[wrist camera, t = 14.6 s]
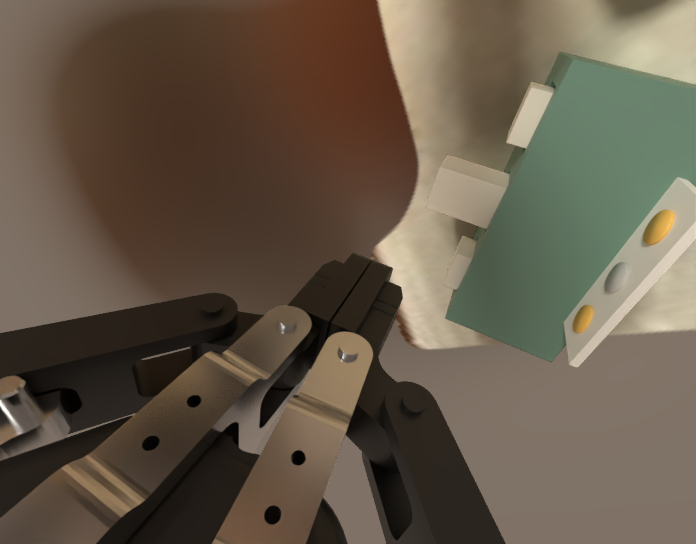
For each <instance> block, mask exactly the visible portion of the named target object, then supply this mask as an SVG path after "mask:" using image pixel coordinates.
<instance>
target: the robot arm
mask: <svg viewBox="0 0 696 544" xmlns="http://www.w3.org/2000/svg"><path fill="white" fill-rule="evenodd" d="M392 271H393V268H392V267H389V266H387V265H384V264H381V263H379V262H376V261H373V260H371V259H369V258H366V257H364V256H361V255H359V254H356V253H352V254H351V255H350V257H349V258H348V259H347V261H346V262H345V263H344V264H343V263H341V262H338V261H336V260H333V261H331V262H329V263H326V264H324V265H323V266H322V267H321V268H320V269H319V270H318V271H317V272H316V274H315V275H314V276H313V277H312V278H311V279H310V281H309V282H308V283H307V284H306V285H305V286H304V287H303V288H302V289H301V291H300V292H299V293H298V294H297V295H296V296H295V297H294V299H293V300H292V301H291V302H290V303H289V304H288V305H287V306H280V307H276V308H273V309H272V310H270V311H269V312H268V313H266V314H265V315H258V314H251V313H245V312H239V311H238V310H237V309H238V307H237V304H236V302H235V301H234V300H233V299H232V298H231V297H229V296H227V295H224V294H220V293H209V294H202V295H197V296H192V297H187V298H182V299H176V300H171V301H167V302H161V303H155V304H150V305H145V306H140V307H135V308H130V309H124V310H119V311H114V312H109V313H103V314H99V315H93V316H88V317H83V318H78V319H72V320H67V321H62V322H56V323H51V324H46V325H41V326H36V327H31V328H25V329H20V330H15V331H10V332H4V333H0V544H347V541H346V538H345V534H344V531H343V529H342V527H341V524H340V522H339V520H338V518H337V516H336V515H335V513H334V511H333V509H332V508H331V507H330V506H329V504H328V503H327V502H326V500H325V499H324V498H323V495H324V493H325V490H326V487H327V484H328V481H329V479H330V476H331V473H332V471H333V468H334V465H335V462H336V459H337V456H338V454H339V451H340V448H341V445H342V443H343V440H344V437H345V435H346V436H347V437H348V438H350V440H351V441H352V442H353V443H354V444H355V445H356V446H357V447H359V449H360V450H362V458H363V463H364V466H365V470H366V473H367V477H368V480H369V484H370V487H371V491H372V494H373V498H374V502H375V505H376V509H377V512H378V515H379V519H380V522H381V526H382V529H383V533H384V536H385V540H386V544H505V542H504V540H503V538H502V536H501V533H500V531H499V529H498V527H497V525H496V523H495V521H494V519H493V518H492V515H491V513H490V511H489V509H488V507H487V505H486V503H485V501H484V499H483V496H482V494H481V492H480V490H479V488H478V486H477V484H476V482H475V480H474V478H473V476H472V474H471V472H470V470H469V468H468V466H467V464H466V462H465V460H464V458H463V456H462V454H461V452H460V449H459V447H458V445H457V443H456V441H455V439H454V437H453V435H452V433H451V431H450V429H449V427H448V425H447V423H446V421H445V419H444V416H443V415H442V412H441V410H440V408H439V406H438V404H437V402H436V400H435V399H434V397H433V396H432V395H431V394H430V392H429V391H428V390H426V389H425V388H424V387H422V386H420V385H418V384H416V383H413V382H407V381H406V382H405V381H404V382H398V383H397V382H396V381H394V379H392V378H391V377H390V376H389V375H388V374H387V373H386V372H385V371H384V370H383V368H382V366H381V364H380V362H379V359H378V356H379V354H380V351H381V350H382V347H383V345H384V343H385V341H386V339H387V336H388V334H389V332H390V330H391V328H392V325H393V323H394V320H395V317H396V315H397V312H398V309H399V307H400V304H401V301H402V299H403V296H402V290H401V287H400V286H398V285H395V284H393V283H390V282H389V280H390V277H391V274H392ZM186 347H190V349H186V350H183V351H179V352H175V353H171V354H167V355H163V356H160V357H155V358H151V359H147V360H141V359H143V358H146V357H150V356H154V355H158V354H162V353H166V352H170V351H174V350H178V349H182V348H186ZM309 369H311V370H310V373H309V374H308V376H307V378H306V380H305V382H304V384H303V386H302V388H301V389H300V391H299V393H298V394H297V395H295V393H296V392H297V391H298V389H299V388H300V386H301V382H302V380H303V378H304V376H305V375H306V373H307V372H308V370H309ZM286 405H287V406H286ZM285 407H286V408H285ZM284 408H285V409H284ZM283 409H284V411H283V413H282V415H281V417H280V419H279V421H278V423H277V424H276V426H275V428H274V430H273V432H272V434H271V435H270V437H269V439H268V441H267V443H266V445H265V446H264V448H263V450H262V452H261V454H260V455H258V454H255V452H256V450H257V448H258V445H259V443H260V441H261V439H262V437H263V435H264V434H265V433H266V431H267V430H268V429H269V427H270V426H271V425H272V424H273V422H274V421H275V420H276V418H277V417H278V416H279V414H280V413H281V412H282V410H283ZM133 413H136V414H135V415H134V416H129V417H126V418H123V419H120V420H117V421H114V422H111V423H108V424H105V425H102V426H100V427H96V428H94V429H91V430H88V431H85V432H82V433H79V434H76V435H73V436H70V437H68V438H65V437H66V436H67V434H70V433H73V432H77V431H80V430H83V429H86V428H89V427H92V426H96V425H99V424H102V423H105V422H108V421H111V420H115V419H118V418H121V417H124V416H127V415H131V414H133ZM64 438H65V439H64Z"/></svg>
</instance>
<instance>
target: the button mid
mask: <svg viewBox="0 0 696 544" xmlns="http://www.w3.org/2000/svg"><path fill="white" fill-rule="evenodd" d="M509 175H510V174H507V173H504V172H501V171H498V170H495V169H492V168H489V167H485V166H482V165H479V164H476V163H473V162H470V161H467V160H463V159H460V158H457V157H454V156H451V155H448V154H447V156H446V157H445V159H444V160H443V162H442V163H441V165H440V167H439V169H438V172H437V175H436V178H435V181H434V184H433V186H432V189H431V192H430V195H429V198H428V201H427V203H426V206H425V207H426V208H428V209H431V210H434V211H437V212H440V213H443V214H445V215H448V216H451V217H454V218H457V219H460V220H462V221H465V222H468V223H471V224H474V225H477V226H479V227H482V228H485V229H487V228H488V226H489V224H490V221H491V219H492V217H493V215H494V213H495V211H496V209H497V207H498V205H499V203H500V201H501V199H502V197H503V195H504V193H505V191H506V189H507V187H508V183H509Z"/></svg>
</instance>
